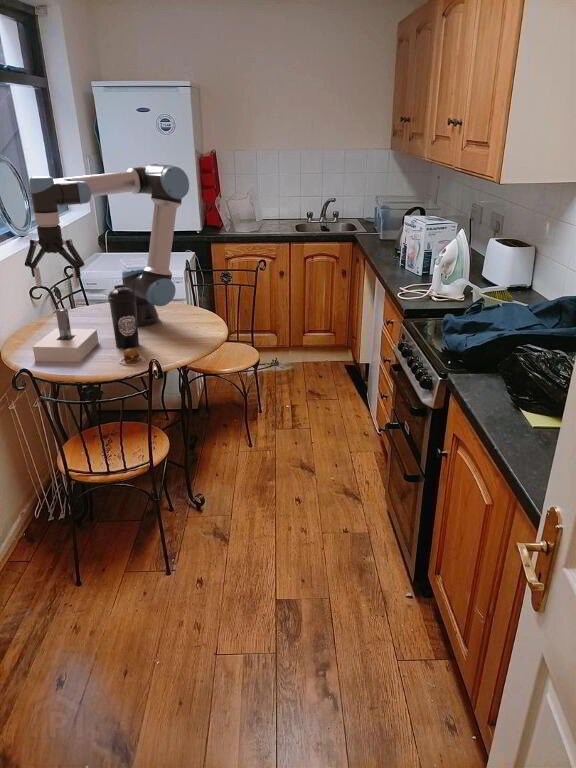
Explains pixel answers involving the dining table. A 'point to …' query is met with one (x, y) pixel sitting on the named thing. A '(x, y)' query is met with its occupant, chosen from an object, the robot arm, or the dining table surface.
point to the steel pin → (63, 324)
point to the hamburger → (131, 356)
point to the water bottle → (124, 317)
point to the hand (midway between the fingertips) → (58, 286)
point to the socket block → (66, 346)
